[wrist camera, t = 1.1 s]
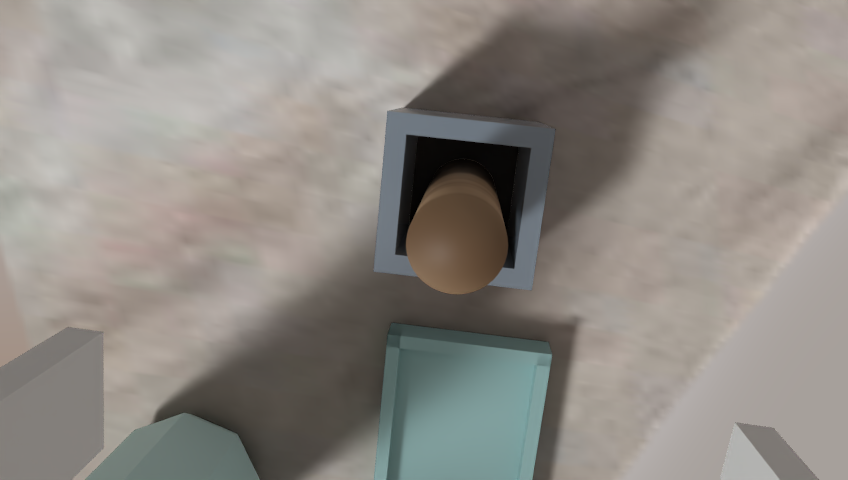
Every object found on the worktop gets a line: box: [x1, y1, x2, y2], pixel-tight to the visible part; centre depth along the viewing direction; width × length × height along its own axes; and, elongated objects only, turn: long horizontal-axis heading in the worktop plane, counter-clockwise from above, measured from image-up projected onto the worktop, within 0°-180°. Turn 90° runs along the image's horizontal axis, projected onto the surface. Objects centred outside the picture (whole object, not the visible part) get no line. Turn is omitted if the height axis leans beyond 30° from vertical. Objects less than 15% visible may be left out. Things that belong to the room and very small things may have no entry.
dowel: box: [406, 159, 508, 294], centre depth 32 cm, size 4×4×14 cm
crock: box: [374, 108, 556, 290], centre depth 35 cm, size 8×8×8 cm
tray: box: [374, 323, 552, 480], centre depth 41 cm, size 13×10×2 cm
